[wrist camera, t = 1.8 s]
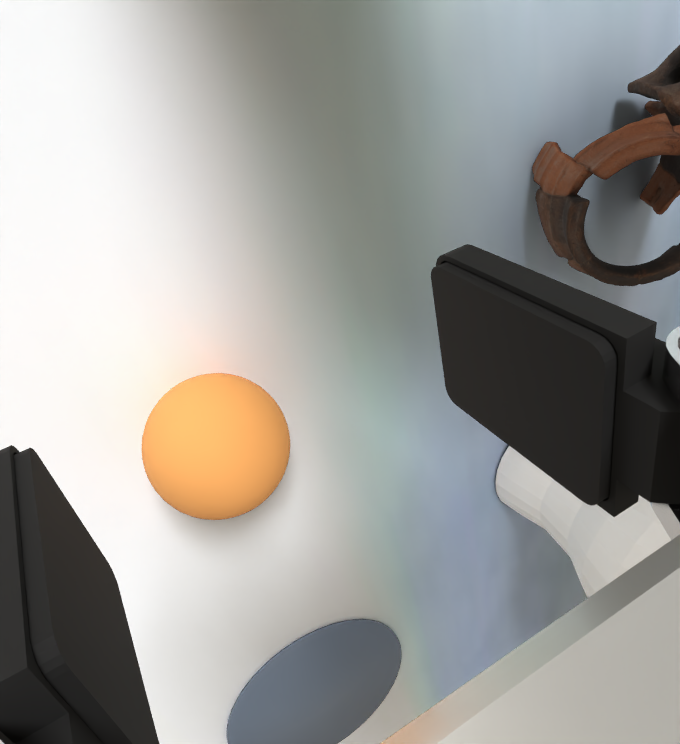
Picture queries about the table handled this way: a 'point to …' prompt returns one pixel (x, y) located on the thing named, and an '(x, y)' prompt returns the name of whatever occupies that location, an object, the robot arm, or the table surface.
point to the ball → (215, 446)
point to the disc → (318, 686)
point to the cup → (580, 523)
